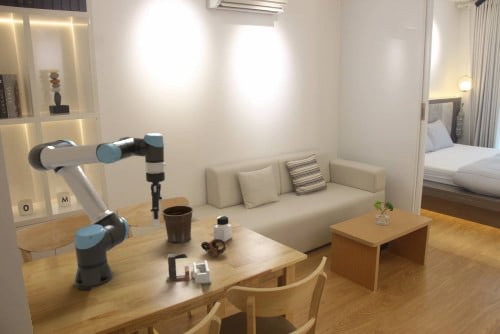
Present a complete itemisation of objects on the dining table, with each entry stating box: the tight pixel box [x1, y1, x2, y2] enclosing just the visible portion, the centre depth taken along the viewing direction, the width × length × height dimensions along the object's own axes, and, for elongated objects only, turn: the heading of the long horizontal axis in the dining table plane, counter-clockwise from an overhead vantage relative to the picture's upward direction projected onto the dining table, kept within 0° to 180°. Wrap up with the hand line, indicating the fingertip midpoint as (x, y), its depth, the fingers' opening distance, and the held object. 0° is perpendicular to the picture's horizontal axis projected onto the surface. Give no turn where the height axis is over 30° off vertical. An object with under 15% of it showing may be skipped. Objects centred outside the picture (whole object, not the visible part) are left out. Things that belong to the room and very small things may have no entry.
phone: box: [175, 253, 189, 260], centre depth 186 cm, size 8×1×15 cm
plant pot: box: [161, 205, 194, 244], centre depth 212 cm, size 16×16×16 cm
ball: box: [190, 268, 200, 279], centre depth 169 cm, size 4×4×4 cm
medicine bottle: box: [213, 215, 233, 243], centre depth 212 cm, size 7×7×12 cm
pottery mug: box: [200, 238, 227, 258], centre depth 194 cm, size 12×10×8 cm
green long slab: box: [192, 260, 212, 286], centre depth 167 cm, size 31×10×6 cm, turn 102°
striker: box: [166, 253, 191, 283], centre depth 167 cm, size 9×5×11 cm, turn 102°
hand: (157, 220), depth 169 cm, fingers open, 13 cm apart
